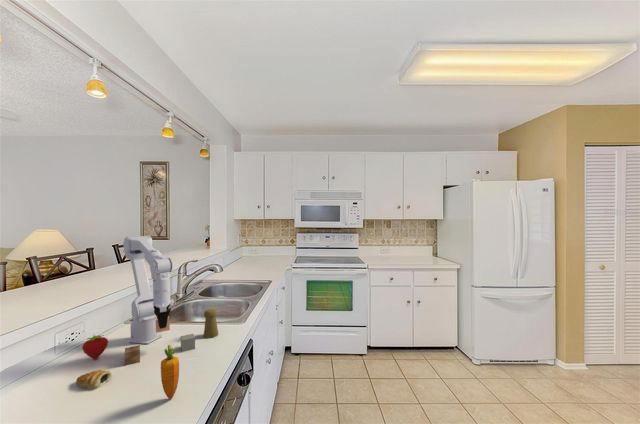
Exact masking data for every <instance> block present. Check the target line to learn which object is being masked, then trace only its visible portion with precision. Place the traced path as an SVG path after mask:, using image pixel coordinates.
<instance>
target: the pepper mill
mask: <svg viewBox="0 0 640 424" xmlns="http://www.w3.org/2000/svg"><path fill="white" fill-rule="evenodd" d="M203 315H204V316H203V317H204V318H205V320H204V331H203V338H205V339H211V338H212V339H213V338H216V337H218V336H219V330H218V324H217V315H218V311H217V309H215V308H208V309H206V310H204V312H203Z"/></svg>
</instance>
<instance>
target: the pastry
mask: <svg viewBox="0 0 640 424" xmlns="http://www.w3.org/2000/svg"><path fill="white" fill-rule="evenodd" d="M112 378H113V373H112V372H111V371H110V370H102V369H99V370H98V369H97V370H93V371H89V372H87V373H84V374H82V375H80V376H78V377H77V378H76V381H75V383H76V384H77V385H78V386H80V387H81V388H82V389H88V390H97V389H99V388H101V387H103V386H104V385H105V384H106V383H107V382H109V381H110V380H111V379H112Z"/></svg>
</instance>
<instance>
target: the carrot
mask: <svg viewBox="0 0 640 424" xmlns="http://www.w3.org/2000/svg"><path fill="white" fill-rule="evenodd" d="M179 348H180V346H179V345H178V346H176V347H175V348H174V349H173V347H172V345H171V344H168V345H167V348H165V349H164V350H163V351H164V354H165V355H166V357H165V358H164V359H162V360H161V362H160V378H161V379H160V380H161V384H162V389H163V392H164V393H165V396H166V397H167V398H168V399H169V400H172V398H173V397H174V396H175V394H176V393H177V392H176V391H177V389H178V384H179V380H180V379H179V378H180V359H179V357H178V356H175V355H174V354H175V352H176V351H177V350H178V349H179Z"/></svg>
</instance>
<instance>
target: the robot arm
mask: <svg viewBox="0 0 640 424" xmlns="http://www.w3.org/2000/svg"><path fill="white" fill-rule="evenodd" d="M153 242H154V241H153V239H152V237H151V235H142V236H141V235H139V236H125V238H124V239H123V244H122V245H123V252H124V256H125V258H126V259H128V260H130V263H131V267H132V268H131V269H132V273H133V278H134V283H135V289H136V293H137V297H136V298H135V299H134V300H133V301H132V302H131V305H130V306H131V316H132V318H133V320H132V322H131V323H130V328H129V329H130V340H129V341H128V343H134V344H135V343H136V344H143V345H148V344H151V343H152V342H154V341H156V340H158V339H160V338H162V337H163V335H162V334H158V333H156V319H155V317H157V319H158V324H159V328H160V329H161V328H166V326H167V320H168V316H169V317H170V313H171V311H172V307H170V306H171V305H170V304H172V303H174V301H175V300H174V299H173V298H172V299H171V276H170V275H171V274H170V273H171V272H172V271H173V262H172V258H171V257H165V256H164V255H163V254H162V253H161V251H159V250H158V249H157V248H154V247H153ZM145 261H146V263H148V265H149V271H150V274H151V275H150V276H151V280H152V291H151V287H150V282H149V278H148V273H147V268H146V263H145Z"/></svg>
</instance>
